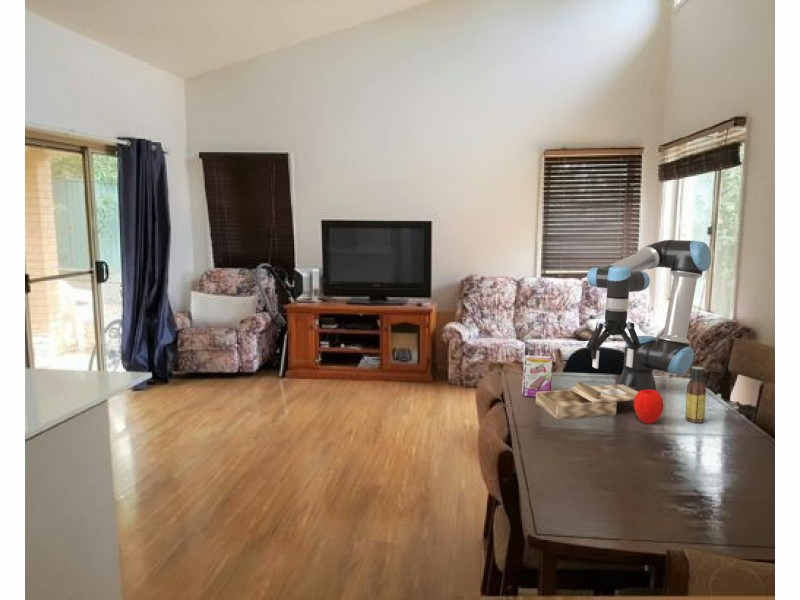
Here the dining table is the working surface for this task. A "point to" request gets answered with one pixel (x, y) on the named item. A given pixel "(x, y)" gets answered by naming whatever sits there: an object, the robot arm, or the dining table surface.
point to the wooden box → (572, 405)
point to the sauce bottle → (696, 396)
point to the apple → (648, 405)
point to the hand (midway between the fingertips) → (612, 367)
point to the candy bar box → (536, 375)
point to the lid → (605, 392)
